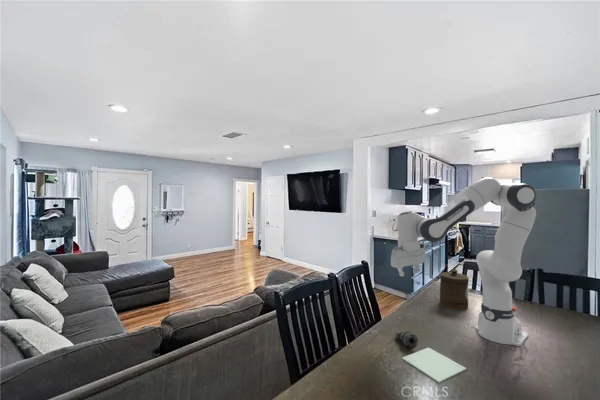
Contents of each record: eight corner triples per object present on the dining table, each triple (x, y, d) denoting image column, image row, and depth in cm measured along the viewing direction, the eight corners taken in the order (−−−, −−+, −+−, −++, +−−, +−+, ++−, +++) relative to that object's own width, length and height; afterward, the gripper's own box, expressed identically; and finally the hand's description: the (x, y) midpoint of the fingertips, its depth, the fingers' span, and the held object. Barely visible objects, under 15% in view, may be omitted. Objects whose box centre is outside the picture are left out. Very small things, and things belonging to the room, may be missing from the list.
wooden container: (473, 310, 155) (474, 272, 155) (447, 310, 155) (448, 272, 155) (459, 300, 170) (459, 265, 170) (435, 300, 170) (435, 265, 170)
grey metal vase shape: (417, 350, 114) (400, 342, 126) (419, 335, 116) (402, 329, 128) (405, 346, 114) (389, 338, 125) (408, 331, 115) (392, 325, 127)
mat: (428, 348, 116) (428, 347, 116) (466, 369, 102) (466, 368, 102) (402, 358, 108) (402, 357, 108) (439, 383, 94) (439, 381, 94)
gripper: (397, 248, 122) (398, 279, 122) (427, 244, 131) (428, 272, 131) (386, 246, 127) (388, 276, 127) (416, 242, 137) (417, 270, 137)
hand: (408, 274), depth 129 cm, fingers open, 8 cm apart
